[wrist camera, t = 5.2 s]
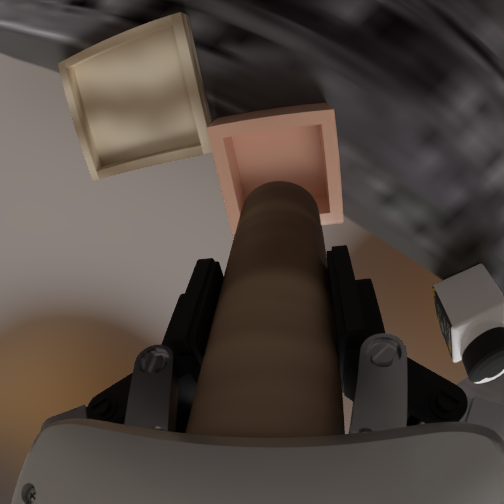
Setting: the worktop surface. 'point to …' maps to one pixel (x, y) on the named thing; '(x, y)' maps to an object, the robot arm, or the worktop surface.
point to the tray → (138, 98)
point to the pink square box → (279, 156)
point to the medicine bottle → (472, 321)
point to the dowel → (272, 328)
